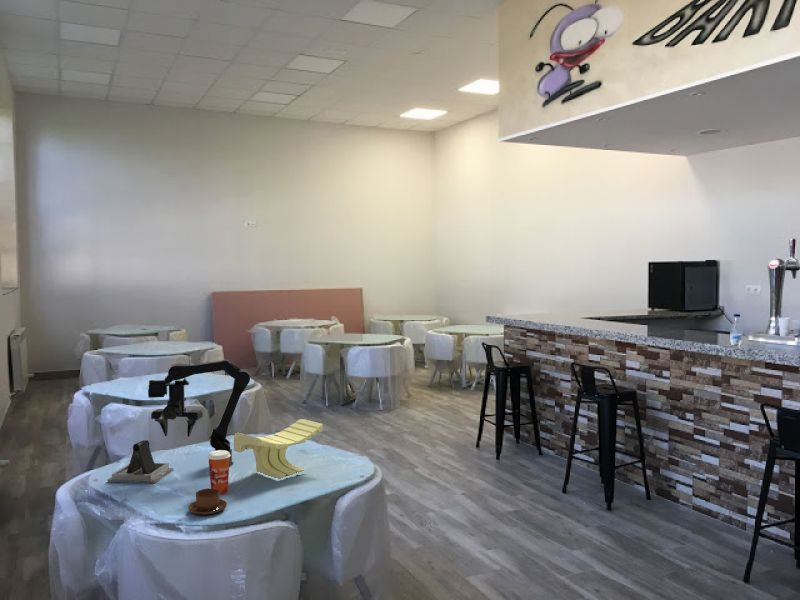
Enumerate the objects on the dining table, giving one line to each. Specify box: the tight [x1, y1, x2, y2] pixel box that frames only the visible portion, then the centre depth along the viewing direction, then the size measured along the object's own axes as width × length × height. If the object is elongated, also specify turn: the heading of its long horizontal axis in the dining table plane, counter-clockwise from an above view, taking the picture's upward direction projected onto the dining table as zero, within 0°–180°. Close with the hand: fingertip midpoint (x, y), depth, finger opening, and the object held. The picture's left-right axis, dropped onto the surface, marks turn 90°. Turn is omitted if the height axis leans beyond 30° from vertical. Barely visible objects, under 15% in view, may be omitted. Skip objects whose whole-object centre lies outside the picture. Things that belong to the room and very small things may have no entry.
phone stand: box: [126, 439, 157, 474], centre depth 253 cm, size 9×6×12 cm, turn 76°
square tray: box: [106, 462, 174, 485], centre depth 253 cm, size 18×16×3 cm
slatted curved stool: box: [233, 418, 324, 479], centre depth 257 cm, size 30×16×18 cm, turn 136°
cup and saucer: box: [188, 488, 228, 516], centre depth 218 cm, size 12×12×6 cm
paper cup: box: [207, 450, 231, 495], centre depth 236 cm, size 8×8×14 cm
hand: (177, 436), depth 262 cm, fingers open, 9 cm apart
